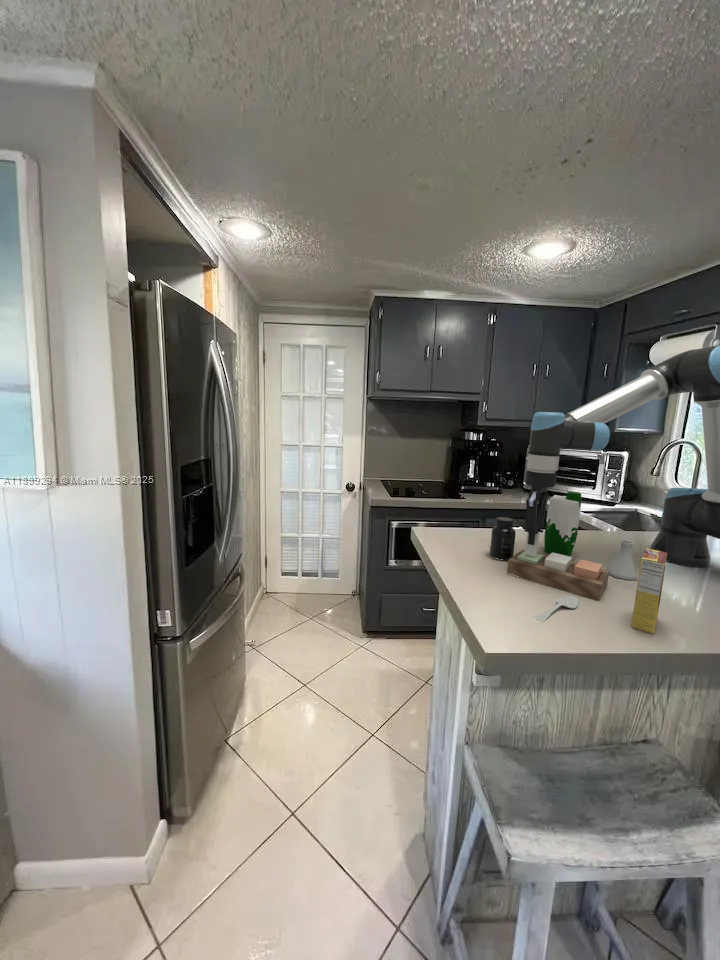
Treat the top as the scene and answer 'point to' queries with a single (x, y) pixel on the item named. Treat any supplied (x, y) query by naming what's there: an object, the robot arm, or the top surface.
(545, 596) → the top surface
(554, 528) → the milk carton
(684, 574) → the top surface
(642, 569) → the candy box
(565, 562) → the white rectangular block
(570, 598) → the spoon
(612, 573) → the flask
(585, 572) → the terracotta key
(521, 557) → the sage key
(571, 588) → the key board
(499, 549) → the supplement bottle
